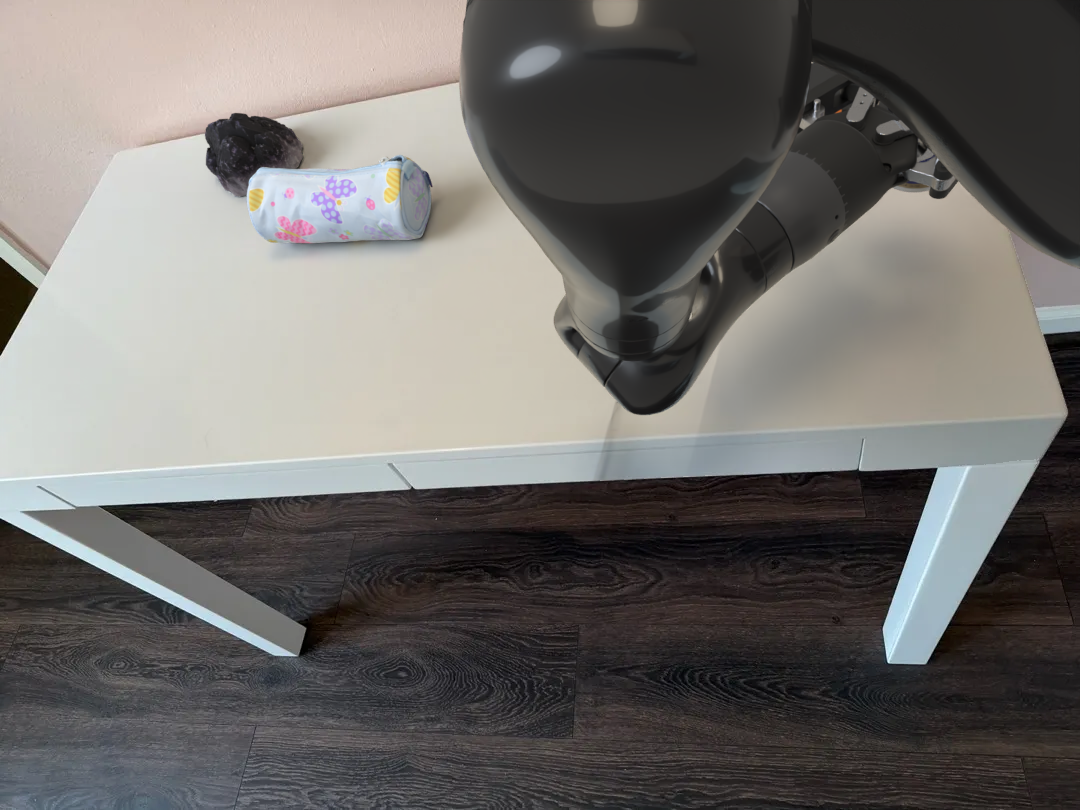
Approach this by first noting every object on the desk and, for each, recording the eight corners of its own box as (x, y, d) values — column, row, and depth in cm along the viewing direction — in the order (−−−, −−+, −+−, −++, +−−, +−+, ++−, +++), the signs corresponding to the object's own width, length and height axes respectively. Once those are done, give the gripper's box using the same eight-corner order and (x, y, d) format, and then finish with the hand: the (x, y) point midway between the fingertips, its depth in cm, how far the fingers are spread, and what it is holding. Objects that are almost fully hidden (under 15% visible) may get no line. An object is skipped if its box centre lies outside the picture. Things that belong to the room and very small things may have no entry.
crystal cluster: (250, 137, 112) (203, 81, 104) (324, 130, 106) (279, 70, 98) (211, 208, 106) (157, 155, 98) (286, 204, 101) (235, 148, 93)
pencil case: (444, 200, 92) (415, 135, 85) (427, 254, 88) (395, 190, 80) (294, 211, 98) (254, 151, 91) (271, 262, 94) (227, 204, 86)
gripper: (893, 203, 48) (1061, 60, 51) (722, 119, 56) (877, 0, 59) (878, 283, 54) (1029, 151, 57) (726, 198, 62) (866, 86, 65)
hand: (951, 75), depth 58 cm, fingers closed on pill bottle, 5 cm apart
